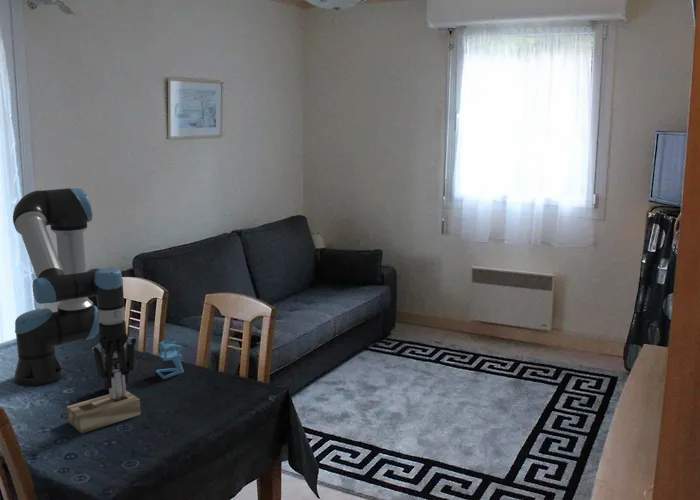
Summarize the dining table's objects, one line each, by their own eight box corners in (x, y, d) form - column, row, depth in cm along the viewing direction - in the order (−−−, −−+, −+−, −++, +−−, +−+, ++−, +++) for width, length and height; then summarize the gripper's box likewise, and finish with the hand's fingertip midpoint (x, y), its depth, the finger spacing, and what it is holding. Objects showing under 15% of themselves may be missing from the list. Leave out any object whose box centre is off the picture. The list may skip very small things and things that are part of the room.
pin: (112, 408, 207) (109, 371, 204) (121, 405, 209) (118, 368, 206) (116, 411, 205) (113, 373, 202) (125, 408, 207) (123, 371, 204)
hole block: (68, 422, 202) (66, 406, 201) (126, 404, 214) (125, 389, 213) (81, 433, 195) (80, 417, 194) (140, 414, 206) (139, 399, 205)
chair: (186, 374, 238) (184, 341, 236) (163, 379, 234) (161, 346, 231) (178, 367, 244) (176, 335, 242) (155, 372, 240) (153, 340, 238)
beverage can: (120, 394, 222) (117, 359, 219) (100, 392, 223) (97, 357, 221) (131, 385, 228) (128, 351, 226) (112, 384, 230) (109, 350, 228)
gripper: (91, 329, 193) (97, 407, 198) (142, 318, 204) (147, 392, 208) (80, 323, 199) (87, 399, 203) (131, 313, 209) (136, 385, 214)
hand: (117, 395), depth 206 cm, fingers closed on pin, 3 cm apart
